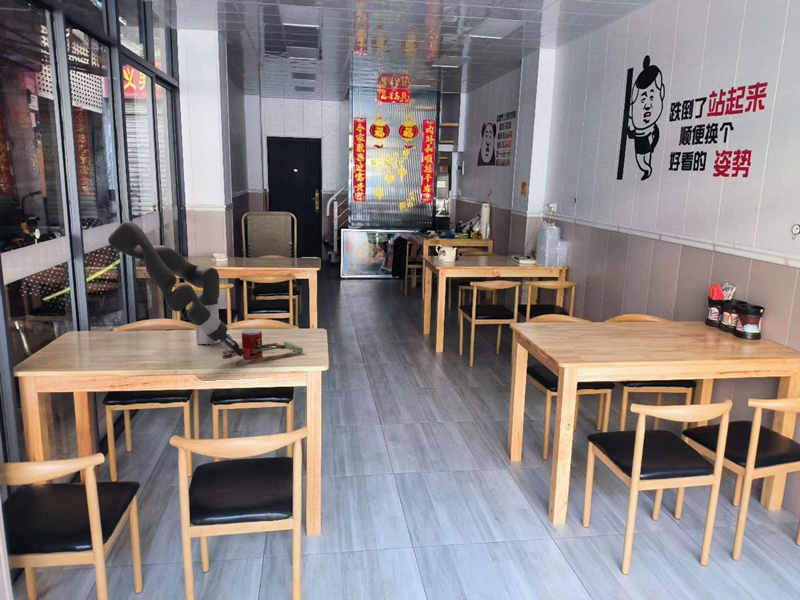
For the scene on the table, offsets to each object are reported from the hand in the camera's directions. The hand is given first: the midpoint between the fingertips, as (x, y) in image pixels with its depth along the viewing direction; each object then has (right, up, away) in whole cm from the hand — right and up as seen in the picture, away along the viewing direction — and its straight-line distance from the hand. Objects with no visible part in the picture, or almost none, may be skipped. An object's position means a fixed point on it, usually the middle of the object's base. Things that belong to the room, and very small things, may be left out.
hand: (241, 354), depth 236 cm
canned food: (+3, -2, +3) cm, 5 cm away
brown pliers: (+5, -1, +8) cm, 10 cm away
